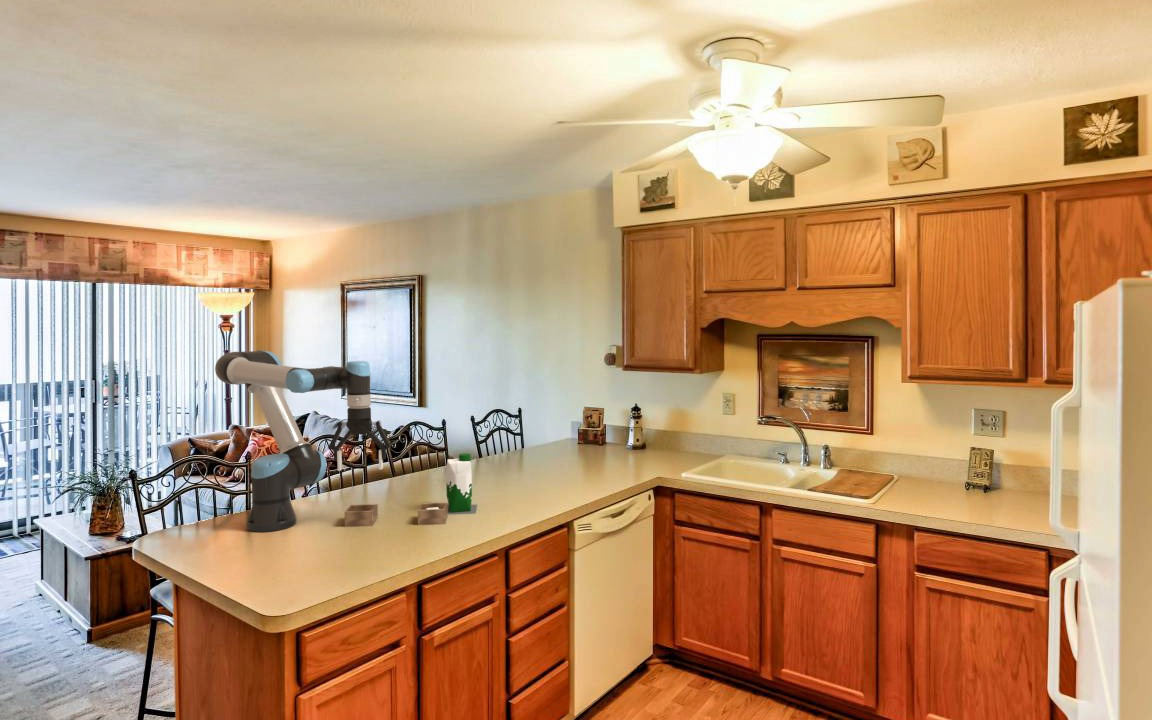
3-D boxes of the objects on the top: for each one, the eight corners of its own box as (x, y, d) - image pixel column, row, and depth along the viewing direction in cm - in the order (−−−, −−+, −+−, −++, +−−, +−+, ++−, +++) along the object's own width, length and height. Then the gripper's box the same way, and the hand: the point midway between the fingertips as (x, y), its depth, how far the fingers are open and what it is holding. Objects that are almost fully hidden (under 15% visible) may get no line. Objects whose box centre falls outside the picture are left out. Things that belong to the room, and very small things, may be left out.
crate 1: (344, 528, 218) (344, 512, 217) (351, 520, 227) (351, 505, 226) (372, 527, 219) (372, 511, 218) (378, 519, 228) (377, 504, 227)
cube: (428, 522, 221) (427, 511, 221) (426, 519, 225) (426, 508, 225) (439, 521, 223) (439, 509, 223) (438, 518, 226) (437, 507, 226)
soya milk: (473, 511, 235) (472, 456, 234) (447, 513, 232) (446, 457, 231) (470, 505, 243) (469, 452, 242) (445, 507, 241) (445, 453, 240)
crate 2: (417, 526, 219) (417, 510, 219) (421, 519, 228) (421, 503, 228) (445, 525, 220) (444, 509, 220) (447, 518, 229) (447, 502, 229)
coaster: (441, 516, 231) (441, 514, 231) (444, 507, 243) (444, 505, 243) (475, 515, 232) (475, 513, 232) (477, 506, 244) (477, 504, 244)
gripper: (317, 409, 216) (319, 472, 217) (394, 407, 218) (396, 470, 219) (324, 406, 223) (325, 468, 224) (398, 405, 226) (400, 466, 227)
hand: (360, 469), depth 222 cm, fingers open, 13 cm apart
